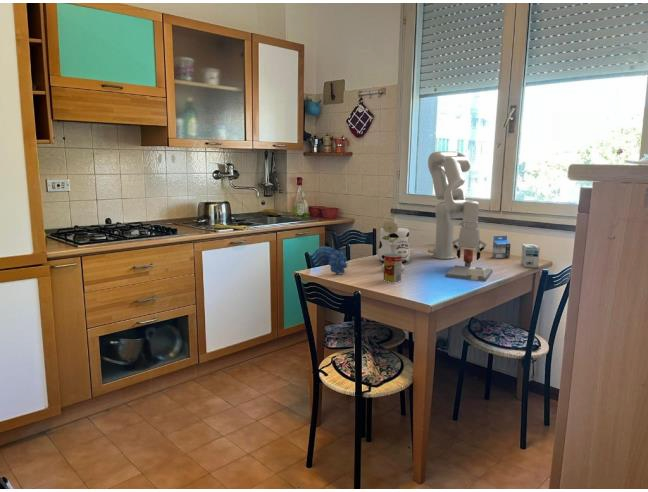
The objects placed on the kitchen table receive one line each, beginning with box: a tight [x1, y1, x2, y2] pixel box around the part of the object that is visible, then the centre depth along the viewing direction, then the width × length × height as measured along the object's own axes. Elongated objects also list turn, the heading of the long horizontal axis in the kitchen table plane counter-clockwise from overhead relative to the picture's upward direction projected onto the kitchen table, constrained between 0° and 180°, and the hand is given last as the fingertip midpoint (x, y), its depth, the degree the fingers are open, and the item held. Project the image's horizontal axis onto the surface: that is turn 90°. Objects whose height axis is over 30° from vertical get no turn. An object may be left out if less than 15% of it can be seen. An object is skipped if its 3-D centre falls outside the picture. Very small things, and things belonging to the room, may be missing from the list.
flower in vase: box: [381, 220, 405, 272], centre depth 233 cm, size 13×11×25 cm
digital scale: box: [445, 264, 493, 282], centre depth 227 cm, size 18×20×2 cm
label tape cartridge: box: [491, 235, 511, 260], centre depth 265 cm, size 9×4×12 cm, turn 104°
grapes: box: [328, 250, 348, 275], centre depth 224 cm, size 12×7×12 cm, turn 133°
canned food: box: [383, 253, 403, 283], centre depth 214 cm, size 8×8×12 cm
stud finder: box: [468, 266, 487, 277], centre depth 219 cm, size 7×5×3 cm
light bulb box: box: [520, 243, 541, 269], centre depth 246 cm, size 11×7×11 cm, turn 168°
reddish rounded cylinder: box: [463, 248, 474, 267], centre depth 242 cm, size 4×4×9 cm
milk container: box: [377, 226, 411, 264], centre depth 253 cm, size 17×17×18 cm
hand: (468, 258), depth 242 cm, fingers open, 9 cm apart
